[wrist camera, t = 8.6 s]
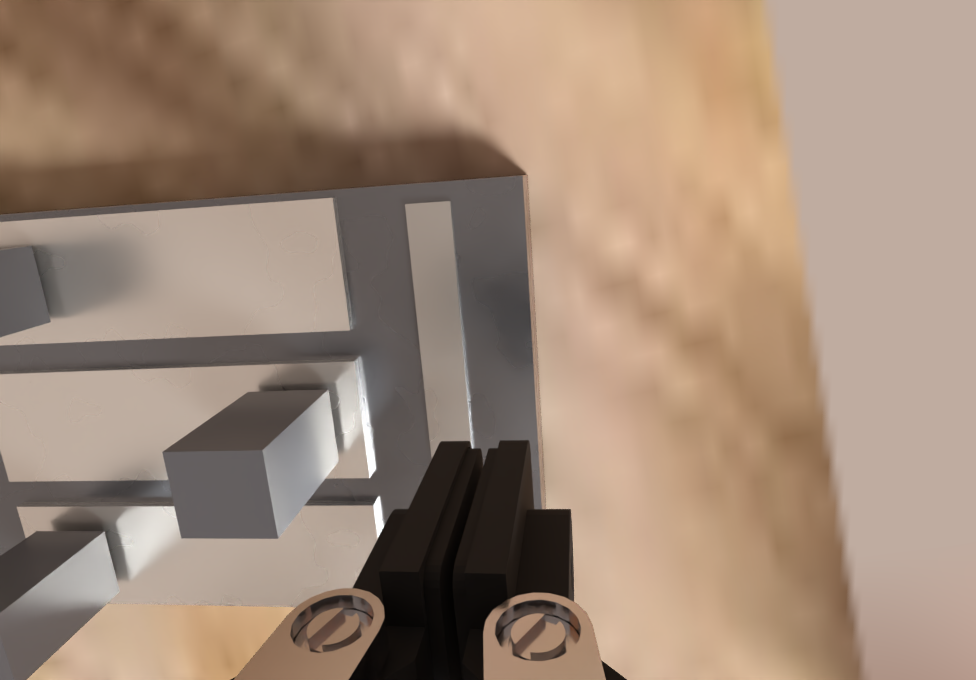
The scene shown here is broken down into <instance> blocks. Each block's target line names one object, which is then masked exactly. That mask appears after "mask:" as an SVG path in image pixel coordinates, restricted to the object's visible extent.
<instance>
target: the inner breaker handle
mask: <svg viewBox="0 0 976 680" xmlns="http://www.w3.org/2000/svg"><path fill="white" fill-rule="evenodd" d="M119 592H120V591H119V587H118V583H117V579H116V575H115V571H114V567H113V563H112V559H111V555H110V551H109V547H108V544H107V540H106V536H105V532H104V531H36V532H35V533H33V534H32V535H30V536H29V537H27V538H26V539H24V540H23V541H21V542H20V543H19V544H17V545H16V546H14V547H13V548H11V549H10V550H8V551H7V552H5V553H4V554H2V555H1V556H0V680H26V679H28V678H29V677H30V676H31V675H32V674H33V673H34V672H35V671H36V670H37V669H38V668H39V667H40V666H41V665H42V664H43V663H44V662H46V661H47V660H48V659H49V658H50V657H51V656H52V655H53V654H54V653H55V652H56V651H57V650H58V649H59V648H60V647H61V646H62V645H64V644H65V643H66V642H67V641H68V640H69V639H70V638H71V637H72V636H73V635H74V634H75V633H76V632H77V631H78V630H79V629H80V628H82V627H83V626H84V625H85V624H86V623H87V622H88V621H89V620H90V619H91V618H92V617H93V616H94V615H95V614H96V613H97V612H98V611H100V610H101V609H102V608H103V607H104V606H105V605H106V604H107V603H108V602H109V601H110V600H111V599H112V598H113V597H114V596H115V595H116V594H118V593H119Z"/></svg>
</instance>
